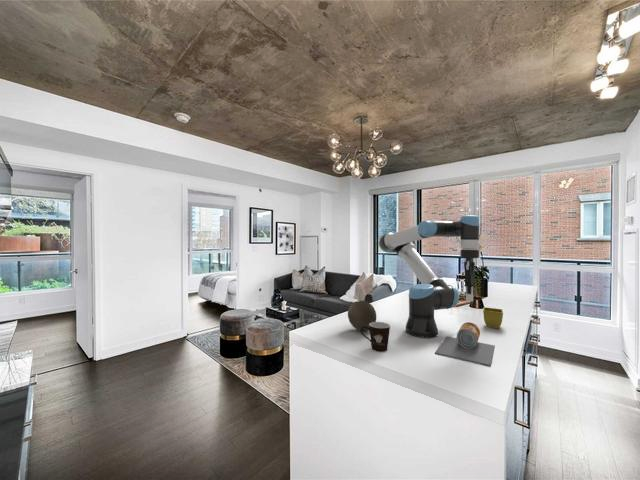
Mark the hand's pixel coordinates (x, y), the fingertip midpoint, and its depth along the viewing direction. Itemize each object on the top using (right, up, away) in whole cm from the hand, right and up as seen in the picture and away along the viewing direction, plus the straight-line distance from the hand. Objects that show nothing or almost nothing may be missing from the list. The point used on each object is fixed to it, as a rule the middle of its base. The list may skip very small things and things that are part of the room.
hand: (469, 300), depth 124 cm
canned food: (0, -14, -1) cm, 14 cm away
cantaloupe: (-47, -18, +12) cm, 52 cm away
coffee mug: (-45, -18, -9) cm, 49 cm away
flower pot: (+23, -18, +19) cm, 35 cm away
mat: (-8, -18, -12) cm, 23 cm away
